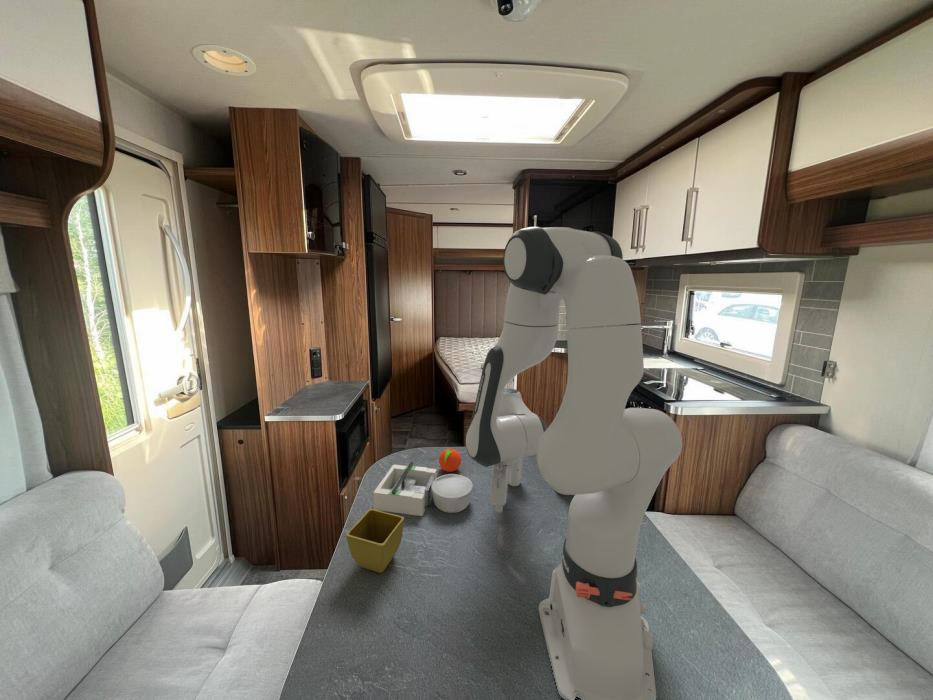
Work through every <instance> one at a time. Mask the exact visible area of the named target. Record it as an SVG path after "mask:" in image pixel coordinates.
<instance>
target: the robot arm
mask: <svg viewBox="0 0 933 700" xmlns="http://www.w3.org/2000/svg"><path fill="white" fill-rule="evenodd" d="M623 256H624V255H623V250H622V247H621V246H620V244H619V242H618V241H617V240H616V239H615V238H613V237H612V236H610V235H608V234H605V233H602V232H600V231H587V230H581V229H576V228H571V227H567V226H566V227H565V226H564V227H562V226H559V227H558V226H557V227H556V226H554V227H552V226H551V227H540V226H529V227H524V228H521V229H519V230H516V231H514V232H513V233H512V234H511V236H510V237H509V239H508V241H507V242H506V245H505V248H504V251H503V259H502V261H503V262H502V263H503V270H504V273H505V276H506V278H507V280H508V281H509V282H510V284H509V287H508V292H507V297H506V303H505V309H504V319H503V320H504V321H503V322H504V323H503V327H502V332H501V334H500V337H499V338H498V340H497V342H496V343H495V345H494V346H492V348H491V349H489V350H488V351H487V353H486V357H485V359H484V364H483V366H482V372H481V374H480V379H479V385H478V389H477V394H476V398H475V402H474V408H473V412H472V416H471V419H470V422H469V424H468V426H467V429H466V433H465V447H466V448H465V449H466V452H467V454H468V456H469V458H471V459H472V460H473V461H474V462H475V463H477V464H478V465H481V466H482V467H485V468H488V467H491V466H492V470H491V471H492V472H491V478H490V491H489V493H490V494H489V495H490V497H489V500H490V501H489V503H490V504H491V505H492V506H493V505H494V507H495V508H494V511H495V512H496V513H503V510H504V509H503V508H504V506H505V505H506V503H507V496H508V487H509V484H508V480H509V472H510V467H512V466H513V465H514V463H516V462H517V461H518V460H519V458H522V457H523V458H524V457H529V456H530V457H531V456H534V455H536V463H537V466H538V469H539V473H540V475H541V476H542V478H543V479H544V481H545V482H546V483H547V485H548V486H549V487H550V488H551V489H553V490H554V491H555V492H556V491H557V492H556V493H559V494H560V493H561V494H560V495H565V496H566V495H567V496H568V495H569V496H571V495H573V498H572V500H571V502H570V504H569V507H568V508H569V509H568V516H567V517H568V518H567V530H566V537H565V539H564V541H563V545H562V548H561V549H562V551H561V556H562V557H561V562H560V563H559V564H558V566H556V567H555V568H554V569H553V570H552V573H551V579H550V580H551V581H550V582H551V583H550V587H549V588H550V589H549V597H547V598H545V599H544V600H541V601H540V602H539V604H538V608H537V609H538V615H539V619H540V623H541V629H542V632H543V637H544V640H545V645H546V649H547V653H549V654H548V658H550V659H549V662H551V663H550V667H551V666H552V668H551V671H552V670H553V672H552V675H554V676H553V679H554V678H555V681H554V683H555V682H556V685H555V687H556V686H557V689H558V691H559V693H560V694H561V695H562V696H564V697H565V698H567V699H569V700H574V699H575V698H576V697H575V696H576V695H580V696H581V698H582V699H583V700H584V699H585V700H648V699H650V700H651V699H653V698H654V699H655V698H657V689H656V680H655V673H654V672H655V670H654V663H653V661H654V660H653V652H652V651H653V649H654V635H653V632H651V631H650V625H649V622H648V621H647V620H646V619H645V617H643V616H642V615H646V613H647V605H646V604H644V603H641V601H640V589H641V583H639V581H638V575H639V574H638V561H637V557H636V556H637V555H636V554H637V549H638V542H639V536H640V529H641V526H642V523H643V519H644V518H645V517H644V516H645V514H646V512H647V509H648V508H649V505H650V503H651V500H652V499H653V496H654V494H655V492H656V491H657V489H658V486H659V485H660V482H661V480H662V479H663V477H664V476H665V473H666V472H667V471H668V469H669V468H671V466H672V465H673V463H674V462H675V461H676V460H677V459H678V458H679V456H680V455H681V453H682V450H683V438H682V434H681V431H680V429H679V427H678V425H677V424H676V422H675V421H674V420H673V418H671V417H670V416H669V415H668V414H667V413H665V412H663V411H661V410H660V409H655V408H648V407H647V408H645V407H628V408H626V406H627V402H628V400H629V398H630V395H631V393H632V392H633V391H634V389H635V387H637V386H638V385H639V383H640V382H641V380H642V378H643V376H644V372H645V367H644V348H643V332H642V319H641V310H640V309H641V308H640V301H639V295H638V292H637V291H638V290H637V287H636V286H637V285H636V283H635V279H634V275H633V272H632V269H631V267H630V264H628V262H626V261H625V260H624V257H623ZM562 299H563V302H564V304H565V321H566V326H565V327H566V340H567V342H566V343H567V371H568V372H567V383H566V388H565V391H564V395H563V398H562V402H561V404H560V406H559V409H558V411H557V414H556V415H555V417H554V419H553V421H552V422H551V423H550V425H549V426H548V427H547V425H546V422H545V420H543V418H541V416H539V415H538V414H537V413H535V412H532V411H531V410H530V409H529V407H527V405H526V404H525V403H524V401H523V398H522V394H521V392H520V391H519V390H517V389H514V388H506V386H507V385H508V384H509V382H511V380H512V379H514V378H515V377H516V376H517V375H519V374H521V373H522V372H524V371H526V370H527V369H530V368H532V367H535V366H536V365H538V364H540V363H541V362H543V361H545V360H546V358H548V357H549V356H550V355H551V353H552V352H553V350H554V348H555V345H556V343H557V339H558V332H559V319H560V306H561V302H562ZM646 675H648V676H649V677H647V676H646ZM557 689H556V690H557ZM648 690H650V691H651V692H649V691H648ZM576 699H577V698H576Z"/></svg>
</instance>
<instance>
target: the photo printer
mask: <svg viewBox="0 0 933 700" xmlns="http://www.w3.org/2000/svg"><path fill="white" fill-rule="evenodd" d="M523 463H524V457H522V458H519V460H518V461H517V462H516V463H514V465H513V466H512V467H510V472H509V480H508V486H512V487H518V486H520V484H521V483H522V477H523Z"/></svg>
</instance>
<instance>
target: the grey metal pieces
mask: <svg viewBox="0 0 933 700" xmlns="http://www.w3.org/2000/svg"><path fill="white" fill-rule="evenodd" d="M407 465H408V467H407V468H406V470H405V472H404V473H403V475H402V476H401V477H400V478H399V479H398V481H397V482H396V484H394V486H393V487H392V489H393V490H392V492H391V493H392V494H395V492H396V491H397V490H402V491H410V492H415V493H421V494H424V499H425V507H426V508H427V507H429V506H430V505H431V504H430V503H431V502H432V499H433V493H432V491H431V485H432V483H433V481H434V480H435V476H433V475H432V476H431V478H430V480H429V482H428V484H427V486H426V487H424V486H417V479H412V478H405V476H406V475H407V473H408V472H409V470H410V468H411V467H412V466H414V461H410V463H408V464H407Z"/></svg>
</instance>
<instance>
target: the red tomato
mask: <svg viewBox="0 0 933 700" xmlns="http://www.w3.org/2000/svg"><path fill="white" fill-rule="evenodd" d="M438 463H439V466H440V468H441V469H442V470H443V471H445V472H449V473H452V472H454V471H456V470H458V469H459V468H460V466H461V463H462V457H461V454H460V452H459V451H457V450H456V449H454V448H449V447H448V448H446V449H444V450H443V451H442V452H441V453H440V454H439V457H438Z"/></svg>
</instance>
